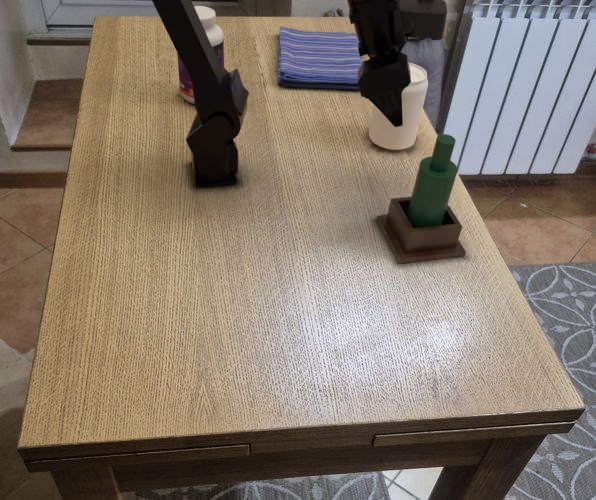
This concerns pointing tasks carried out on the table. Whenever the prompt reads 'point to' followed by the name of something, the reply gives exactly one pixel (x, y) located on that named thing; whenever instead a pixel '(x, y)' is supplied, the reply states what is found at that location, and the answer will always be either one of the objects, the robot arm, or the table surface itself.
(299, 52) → the dish towel
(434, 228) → the holder
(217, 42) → the pill bottle
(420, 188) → the bottle
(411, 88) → the beverage can
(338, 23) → the table surface
